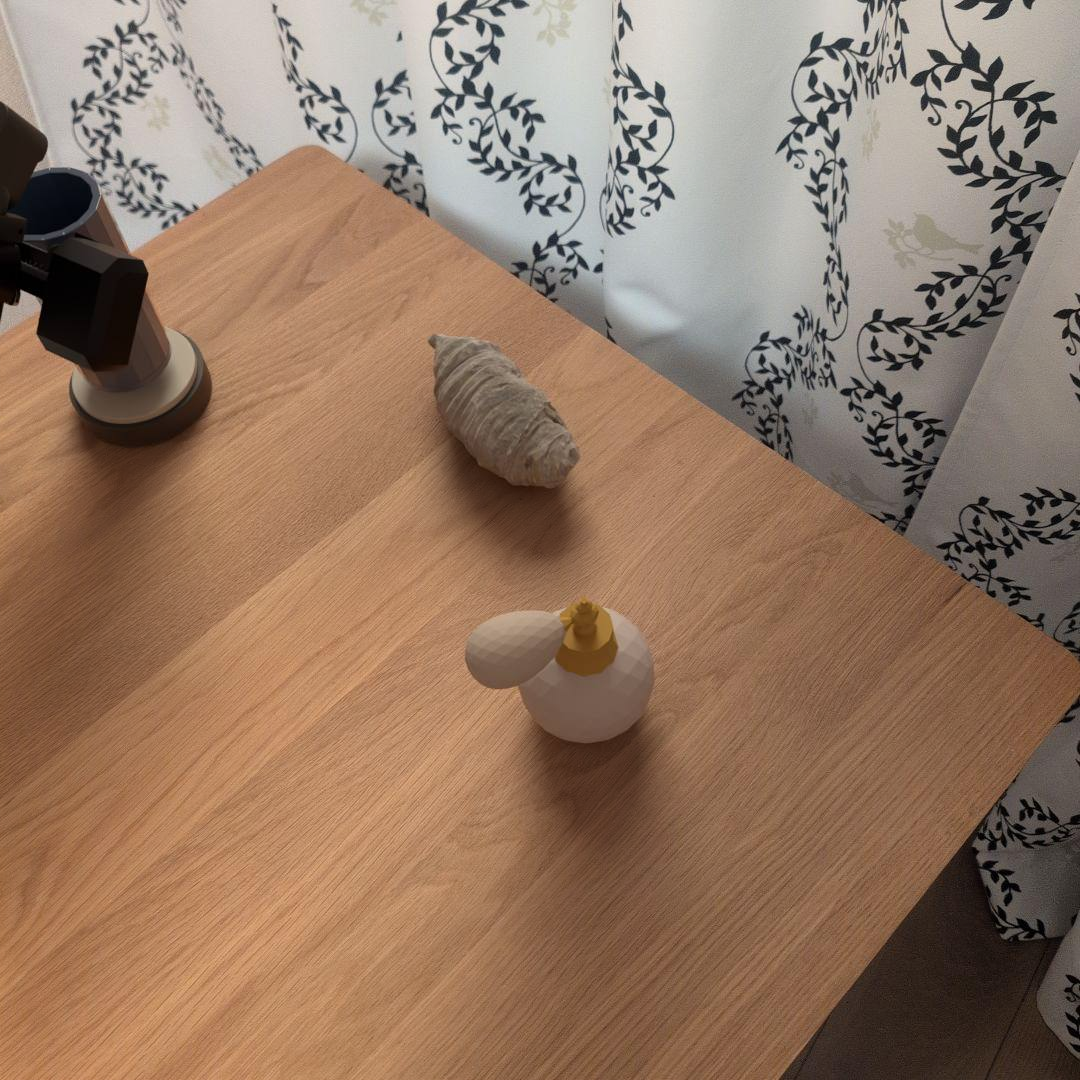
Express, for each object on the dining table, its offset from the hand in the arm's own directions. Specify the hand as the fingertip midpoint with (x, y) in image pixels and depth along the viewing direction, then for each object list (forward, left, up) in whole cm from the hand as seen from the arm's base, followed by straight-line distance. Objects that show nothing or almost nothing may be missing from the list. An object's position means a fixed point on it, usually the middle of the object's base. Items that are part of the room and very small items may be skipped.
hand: (103, 271), depth 70 cm
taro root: (+19, -15, -11) cm, 26 cm away
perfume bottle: (+15, -35, -11) cm, 39 cm away
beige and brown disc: (-1, -1, -10) cm, 11 cm away
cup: (-1, -1, -7) cm, 7 cm away
